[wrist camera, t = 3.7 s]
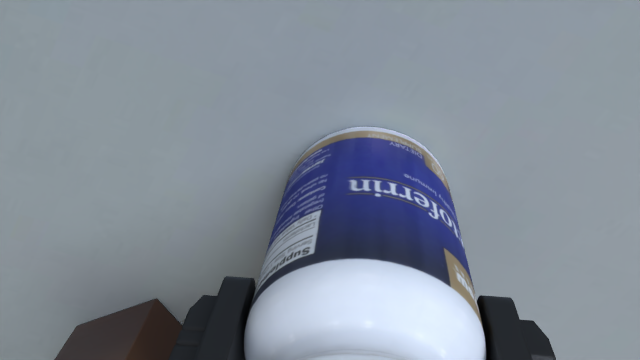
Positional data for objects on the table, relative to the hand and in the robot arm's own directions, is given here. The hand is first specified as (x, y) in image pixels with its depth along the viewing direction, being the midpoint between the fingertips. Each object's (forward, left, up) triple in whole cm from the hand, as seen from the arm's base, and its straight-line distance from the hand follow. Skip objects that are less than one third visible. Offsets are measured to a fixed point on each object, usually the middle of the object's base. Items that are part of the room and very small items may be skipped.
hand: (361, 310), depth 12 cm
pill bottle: (0, 0, -6) cm, 6 cm away
